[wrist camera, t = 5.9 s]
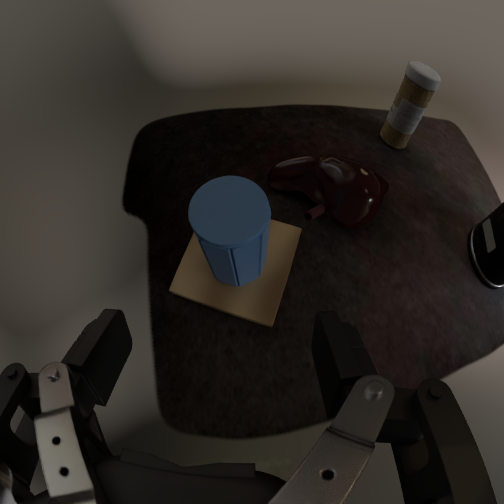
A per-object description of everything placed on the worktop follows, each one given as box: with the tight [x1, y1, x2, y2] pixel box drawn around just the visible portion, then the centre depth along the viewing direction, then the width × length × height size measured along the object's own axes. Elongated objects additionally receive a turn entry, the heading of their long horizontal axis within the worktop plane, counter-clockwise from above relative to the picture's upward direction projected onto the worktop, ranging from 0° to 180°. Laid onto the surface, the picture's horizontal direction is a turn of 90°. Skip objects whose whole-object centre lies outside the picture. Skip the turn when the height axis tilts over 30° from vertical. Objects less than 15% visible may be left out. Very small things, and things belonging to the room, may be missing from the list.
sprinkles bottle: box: [380, 61, 441, 149], centre depth 27 cm, size 5×5×13 cm
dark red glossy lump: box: [268, 154, 389, 228], centre depth 28 cm, size 6×12×11 cm
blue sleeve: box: [188, 176, 271, 287], centre depth 21 cm, size 5×5×9 cm
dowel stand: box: [169, 219, 302, 328], centre depth 22 cm, size 10×10×9 cm
